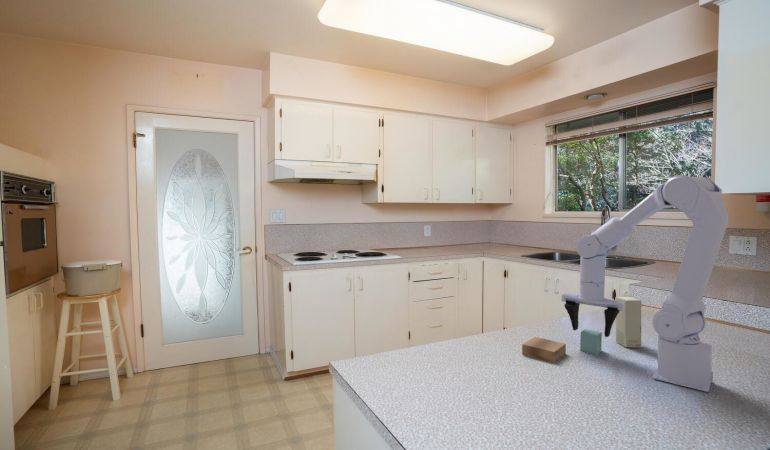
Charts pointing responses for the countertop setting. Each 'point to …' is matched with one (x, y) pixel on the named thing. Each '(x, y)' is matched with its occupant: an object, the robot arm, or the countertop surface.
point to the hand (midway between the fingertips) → (590, 332)
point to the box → (629, 323)
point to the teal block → (591, 341)
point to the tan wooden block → (544, 349)
